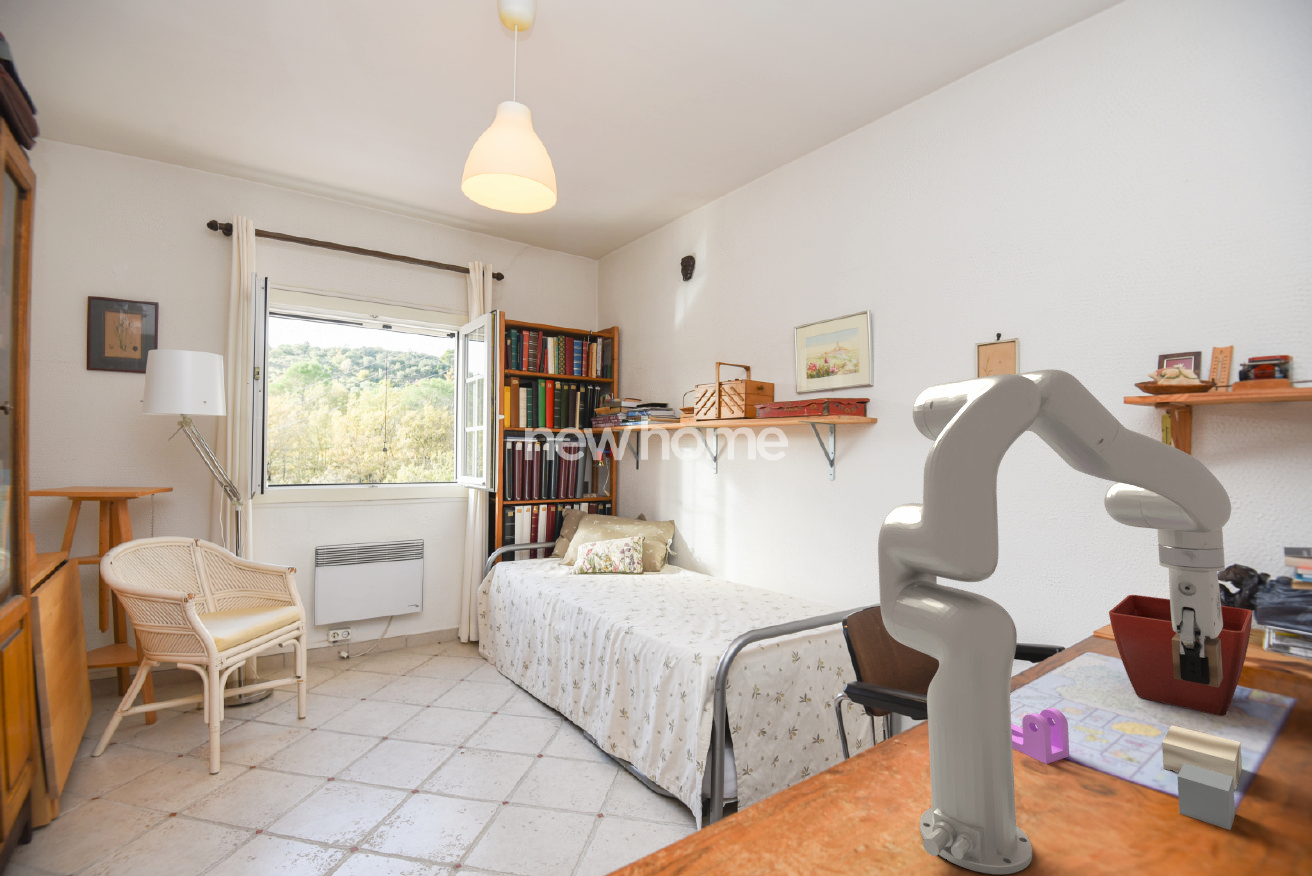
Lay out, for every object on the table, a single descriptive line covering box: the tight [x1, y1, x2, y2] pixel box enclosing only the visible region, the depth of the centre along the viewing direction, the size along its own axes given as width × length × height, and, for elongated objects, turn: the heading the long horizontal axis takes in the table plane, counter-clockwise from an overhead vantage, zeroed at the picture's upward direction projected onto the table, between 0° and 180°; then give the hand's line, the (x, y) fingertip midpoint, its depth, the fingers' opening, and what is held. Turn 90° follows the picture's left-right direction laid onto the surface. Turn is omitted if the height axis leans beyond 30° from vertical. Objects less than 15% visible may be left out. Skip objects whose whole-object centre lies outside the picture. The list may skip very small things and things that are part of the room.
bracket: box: [1011, 707, 1070, 765], centre depth 101 cm, size 13×6×7 cm, turn 23°
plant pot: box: [1108, 594, 1254, 716], centre depth 116 cm, size 19×19×17 cm
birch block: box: [1161, 724, 1243, 790], centre depth 91 cm, size 8×8×4 cm
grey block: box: [1176, 763, 1236, 831], centre depth 80 cm, size 5×5×5 cm
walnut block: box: [1172, 633, 1223, 688], centre depth 91 cm, size 5×5×6 cm
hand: (1198, 675), depth 91 cm, fingers closed on walnut block, 4 cm apart
